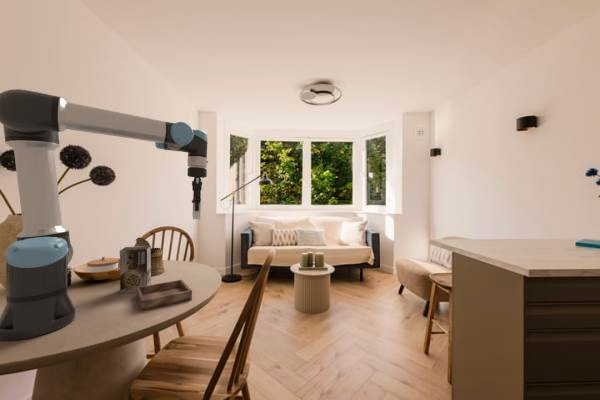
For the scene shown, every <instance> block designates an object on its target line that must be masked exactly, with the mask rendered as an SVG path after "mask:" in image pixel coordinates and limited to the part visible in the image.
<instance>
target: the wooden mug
mask: <svg viewBox="0 0 600 400" xmlns="http://www.w3.org/2000/svg"><path fill="white" fill-rule="evenodd" d="M135 241H136V244H137V246H151V245H150V243H149V240H146V239H144V238H142V237H137V238H136V239H135ZM163 260H164V259H163V251H162V248H160V247H151V276H158V275H162V274H163V273H165V271H166V270H165V267H164V261H163Z"/></svg>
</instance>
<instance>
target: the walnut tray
mask: <svg viewBox="0 0 600 400" xmlns="http://www.w3.org/2000/svg"><path fill="white" fill-rule="evenodd" d="M136 298H137V302H138V305H139V308H140V310H141V311H146V310H151V309H156V308H160V307H164V306H169V305H174V304H179V303H182V302H187V301H192V300H193V290H192V289H191V287H189V285H187V284H186V283H185V282H184V280H183V279H178V280H177V279H176V280H171V281H165V282H159V283H154V284H151V285H147V286H141V287H137V292H136Z"/></svg>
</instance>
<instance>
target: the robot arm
mask: <svg viewBox="0 0 600 400" xmlns="http://www.w3.org/2000/svg"><path fill="white" fill-rule="evenodd" d="M0 123H1V125H2V126H3V127H2V128H3V133H4V134H3V135H4V143H5V144H6V146H9V147H10V148H11V149H13V153H14V161H15V170H16V177H17V179H16V180H17V187H18V194H19V204H20V205H19V206H20V212H21V221H22V227H23V229H22V230H21V232H18V234H17V235H16V241H14V242H12V243H11V244H9V246H8V247H7V248H6V253H5V258H4V259H5V264H6V265H5V267H6V268H5V269H6V270H5V271H6V272H5V275H6V277H5V278H6V279H5V280H6V281H5V282H6V283H5V284H6V288H5V289H6V290H5V291H6V294H5V295H6V300H5V306H4V308H3V311H2V313H1V315H0V341H18V340H25V339H30V338H34V337H38V336H39V337H40V336H43V335H46V334H49V333H52V332H55V331H58V330H60V329H62V328H64V327H66V326H67V325H70V324H71V323H72V322H73V321H75V319H76V308H75V306H74V304H73V301H72V300H71V297H70V295H69V292H68V266H69V264H70V262H71V260H72V259H73V255H74V249H73V246H72V243H71V238H70V229H69V228H67V227H66V226H64V225H63V223H62V222H63V221H62V213H61V204H60V196H59V187H58V186H59V185H58V176H57V169H56V159H55V158H56V157H55V150H57V149H58V148H59V147H60V135H59V133H62V132H64V131H66V130H71V131H78V132H83V133H91V134H99V135H105V136H110V137H111V136H112V137H117V138H125V139H132V140H139V141H147V142H153V143H154V144H155V148H157V149H159V150H164V151H174V152H181V153H187V167H188V168H187V177H189V178H193V180H192V181H191V187H192V191H193V193H192V194H193V195H192V200H191V203H192V219H193V220H201V209H202V208H201V202H202V198H201V197H202V194H201V193H202V186H203V181H202V179H203V178H207V176H208V175H207V173H208V170H207V166H208V164H209V160H208V159H207V158H208V145H209V142H208V134H207V132H206V131H204V130H201V129H194V128H193V127H192V126H191V125H190V124H189V123H187V122H185V121H177V122H170V121H164V120H158V119H154V118H149V117H143V116H139V115H133V114H130V113H124V112H119V111H115V110H109V109H104V108H98V107H93V106H88V105H83V104H78V103H73V102H68V101H67V100H66V99H64V98H63V97H61V96H57V95H52V94H48V93H42V92H39V91H33V90H27V89H21V88H20V89H19V88H18V89H17V88H16V89H15V88H14V89H8V90H4V91H2V92H0Z"/></svg>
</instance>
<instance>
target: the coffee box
mask: <svg viewBox="0 0 600 400" xmlns="http://www.w3.org/2000/svg"><path fill="white" fill-rule="evenodd" d="M151 248H152V246H151V245H150V246H138V245H137V246H125V247H124V248H122V249H120V250H119V283H120V284H119V293H120V294H128V293H137V287H141V286H147V285H152V275H151Z"/></svg>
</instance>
